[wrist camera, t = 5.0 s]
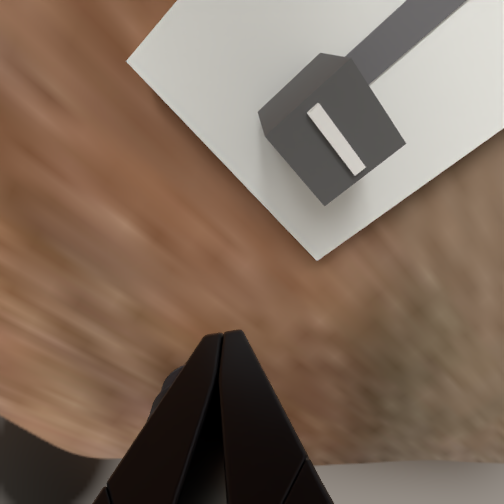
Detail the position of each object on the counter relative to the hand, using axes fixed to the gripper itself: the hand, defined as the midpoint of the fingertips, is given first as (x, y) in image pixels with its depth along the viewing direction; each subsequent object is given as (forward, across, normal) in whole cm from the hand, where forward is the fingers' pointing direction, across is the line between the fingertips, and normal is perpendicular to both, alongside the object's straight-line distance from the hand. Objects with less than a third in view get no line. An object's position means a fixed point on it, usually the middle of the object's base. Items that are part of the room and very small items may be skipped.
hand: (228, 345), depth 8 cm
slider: (+9, -4, -3) cm, 10 cm away
